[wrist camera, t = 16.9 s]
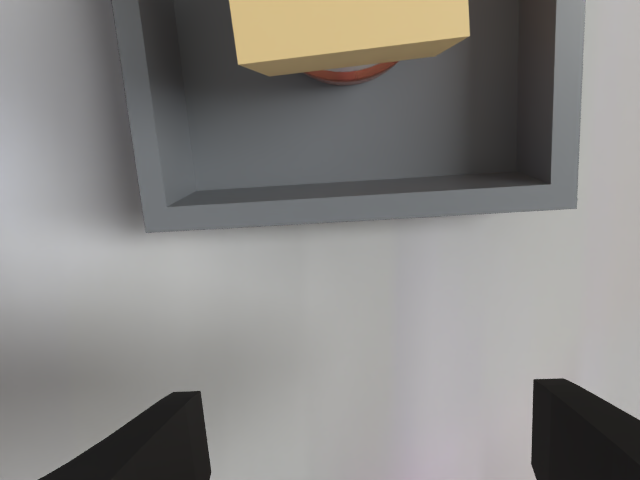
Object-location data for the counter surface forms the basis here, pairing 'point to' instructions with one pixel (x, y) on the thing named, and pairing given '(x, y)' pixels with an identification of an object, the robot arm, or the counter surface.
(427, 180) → the tote
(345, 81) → the bean tin
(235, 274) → the counter surface
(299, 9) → the tan block
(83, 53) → the counter surface
